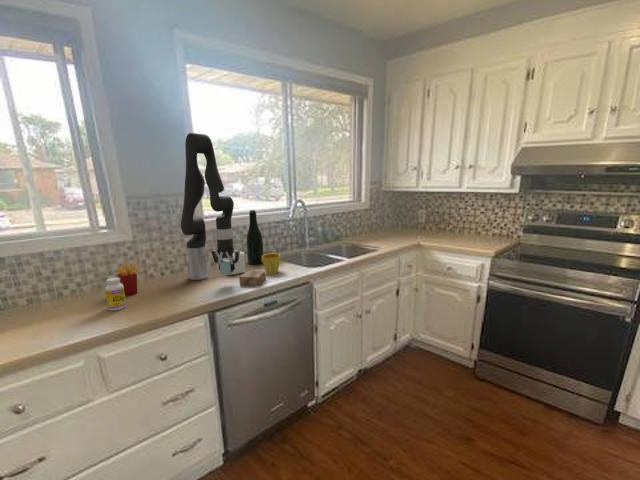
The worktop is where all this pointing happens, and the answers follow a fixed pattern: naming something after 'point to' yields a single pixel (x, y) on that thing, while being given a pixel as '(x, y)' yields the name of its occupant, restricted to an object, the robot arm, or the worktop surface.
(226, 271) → the teal block
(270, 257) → the plant pot
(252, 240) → the beer bottle
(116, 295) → the supplement bottle
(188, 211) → the robot arm
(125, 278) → the french fries
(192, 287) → the worktop surface
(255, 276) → the walnut block
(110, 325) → the worktop surface
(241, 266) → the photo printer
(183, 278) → the worktop surface
